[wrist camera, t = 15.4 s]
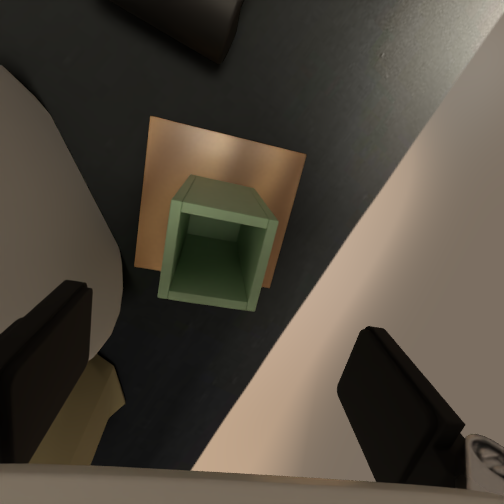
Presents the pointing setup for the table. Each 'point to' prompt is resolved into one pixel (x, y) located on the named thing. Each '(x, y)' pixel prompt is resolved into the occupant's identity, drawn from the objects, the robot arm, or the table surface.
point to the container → (82, 417)
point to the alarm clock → (49, 219)
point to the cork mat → (214, 167)
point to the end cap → (191, 22)
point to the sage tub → (216, 244)
